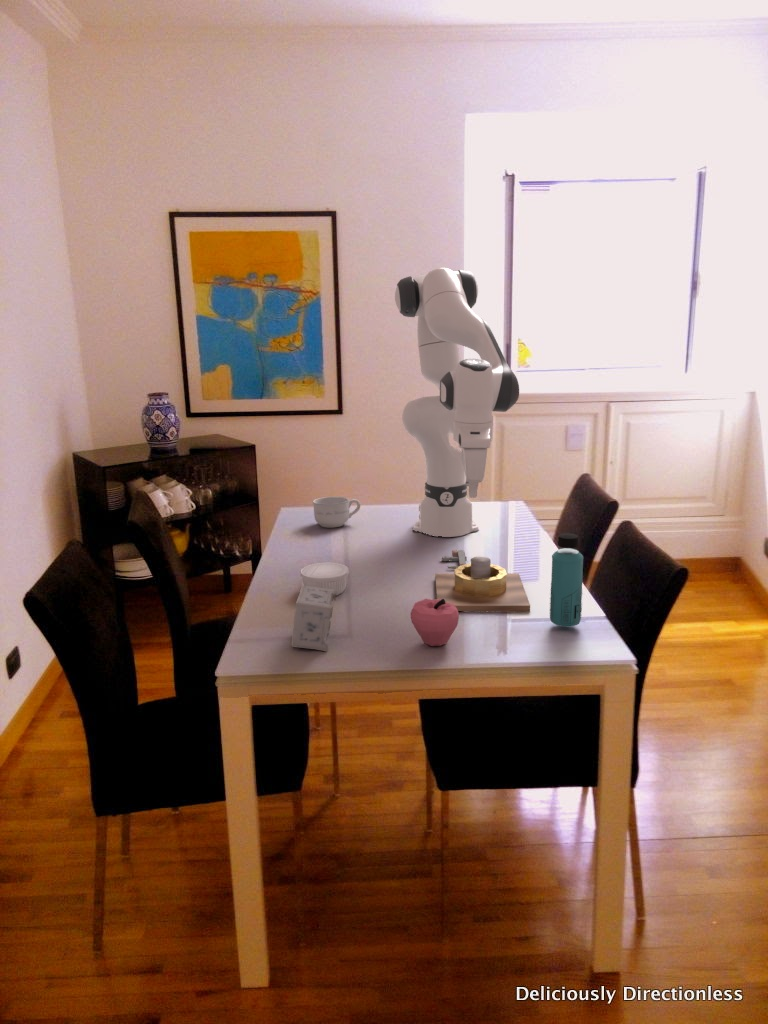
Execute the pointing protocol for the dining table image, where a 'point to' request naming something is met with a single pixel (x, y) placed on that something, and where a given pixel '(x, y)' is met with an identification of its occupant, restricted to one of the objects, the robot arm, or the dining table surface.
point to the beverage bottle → (566, 582)
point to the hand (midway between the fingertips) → (471, 491)
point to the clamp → (456, 558)
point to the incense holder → (312, 618)
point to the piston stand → (506, 602)
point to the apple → (434, 620)
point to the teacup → (333, 510)
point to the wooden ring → (480, 582)
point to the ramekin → (325, 576)
